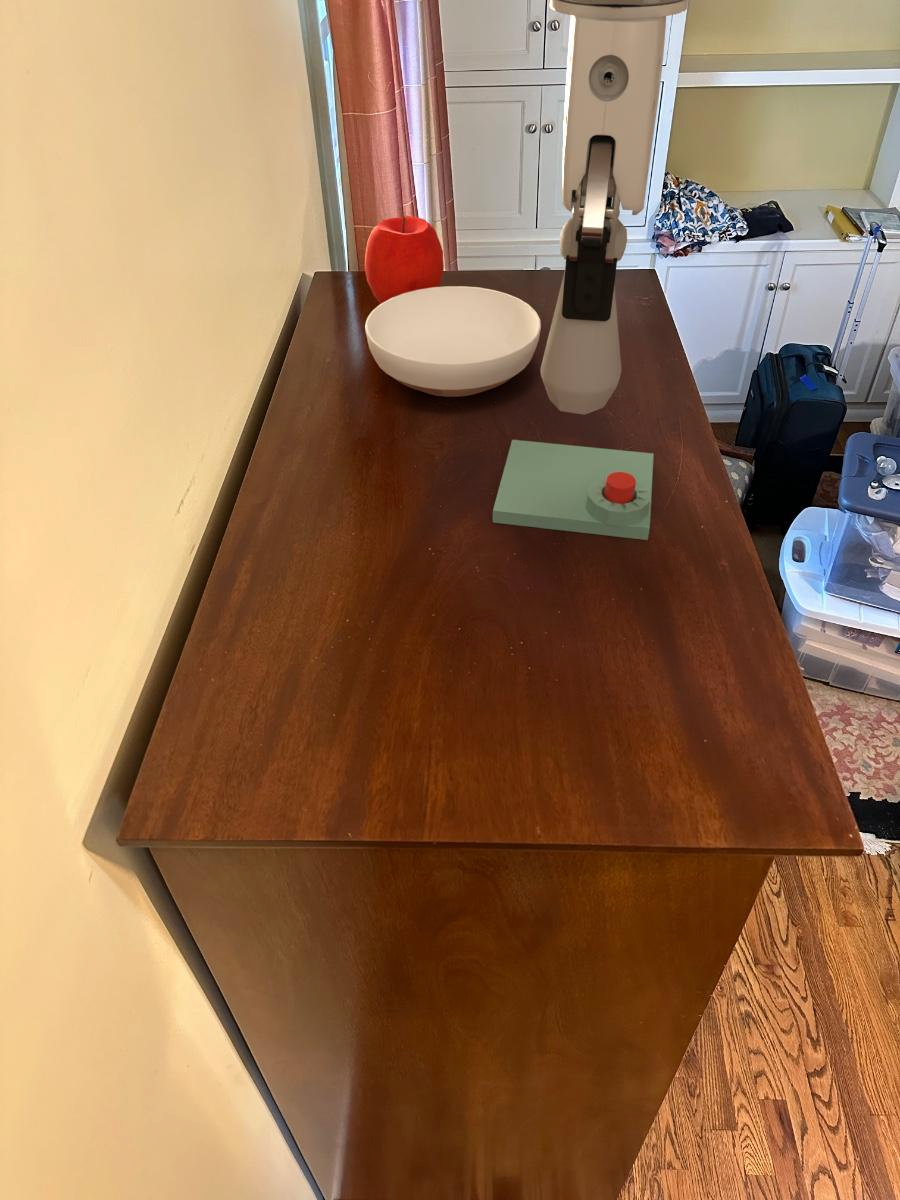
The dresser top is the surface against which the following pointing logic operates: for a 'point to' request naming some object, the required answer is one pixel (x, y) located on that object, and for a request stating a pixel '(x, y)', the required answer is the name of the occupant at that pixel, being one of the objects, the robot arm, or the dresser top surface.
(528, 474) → the green flat block
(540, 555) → the dresser top surface
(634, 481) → the button
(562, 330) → the salt shaker
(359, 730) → the dresser top surface
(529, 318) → the bowl
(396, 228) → the apple
